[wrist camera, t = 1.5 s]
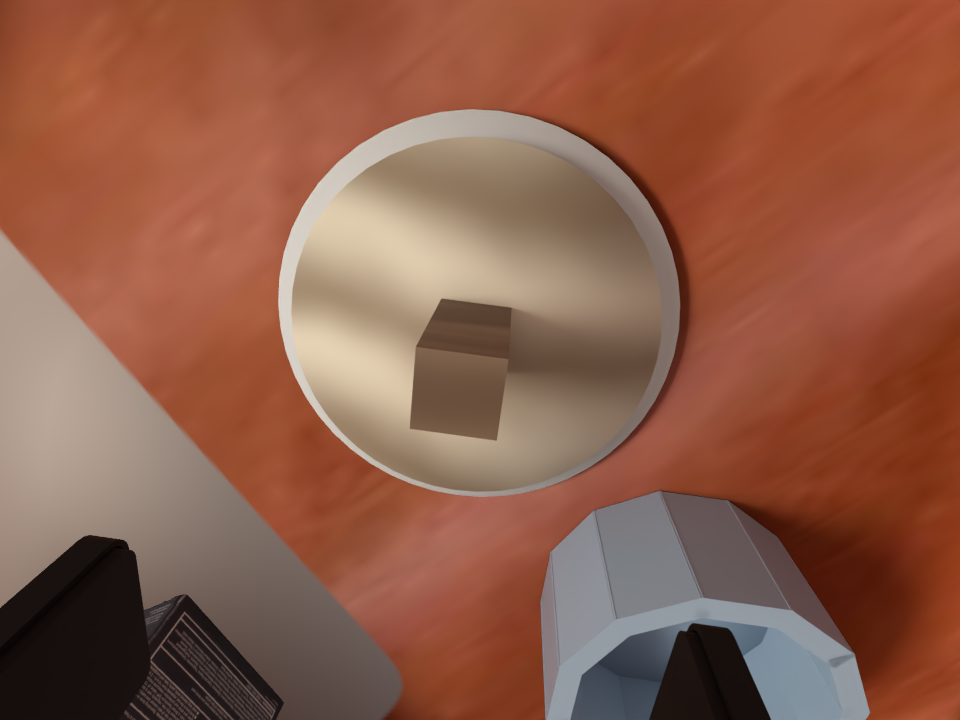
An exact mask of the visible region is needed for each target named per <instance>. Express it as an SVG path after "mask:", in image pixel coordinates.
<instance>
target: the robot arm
mask: <svg viewBox="0 0 960 720" xmlns="http://www.w3.org/2000/svg"><path fill="white" fill-rule="evenodd" d="M150 666H151V659H150V652H149V645H148V638H147V631H146V624H145V617H144V610H143V603H142V596H141V589H140V582H139V575H138V568H137V561H136V555H135V553H134V552H133V551H132V550H129V547H128V544H127V542H125V541H124V540H120V539H113V538H106V537H99V536H92V535H88V536H85V537H83V538H81V539H80V540H78V541H77V542H76V543H75V544H74V545H73V546H71V547H70V548H69V549H68V550H67V551H66V552H64V553H63V554H62V555H61V556H60V557H59V558H57V559H56V561H54V562H53V563H52V564H51V565H49V566H48V567H47V568H46V569H45V570H44V571H42V572H41V573H40V574H39V575H38V576H37V577H36V578H34V579H33V580H32V581H31V582H30V583H29V584H28V585H26V586H25V587H24V588H23V589H22V590H20V591H19V592H18V593H17V594H16V595H15V596H14V597H12V598H11V599H10V600H9V601H8V602H7V603H6V604H4V605H3V606H2V607H1V608H0V720H119V719H120V717H121V716H122V714H123V713H124V712H125V710H126V709H127V707H128V706H129V705H130V703H131V702H132V700H133V699H134V698H135V696H136V695H137V693H138V692H139V691H140V689H141V688H142V686H143V685H144V683H145V681H146V679H147V677H148V674H149V671H150ZM649 720H771V718H770V716H769V713H768V711H767V709H766V707H765V704H764V702H763V700H762V698H761V695H760V693H759V691H758V689H757V686H756V684H755V682H754V680H753V677H752V675H751V673H750V671H749V668H748V666H747V664H746V662H745V659H744V657H743V655H742V653H741V650H740V648H739V646H738V644H737V641H736V639H735V637H734V635H733V633H732V632H731V631H730V630H729V629H728V628H724V627H718V626H711V625H704V624H697V623H692V624H691V625H690V626H689V628H688V630H687V631H679V632H678V634H677V636H676V639H675V643H674V646H673V649H672V652H671V655H670V658H669V661H668V664H667V667H666V670H665V673H664V676H663V679H662V682H661V685H660V688H659V691H658V694H657V697H656V700H655V703H654V706H653V709H652V712H651V715H650V718H649Z"/></svg>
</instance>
